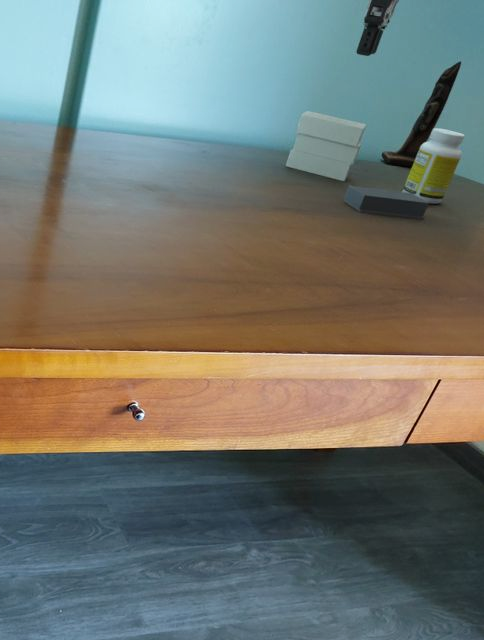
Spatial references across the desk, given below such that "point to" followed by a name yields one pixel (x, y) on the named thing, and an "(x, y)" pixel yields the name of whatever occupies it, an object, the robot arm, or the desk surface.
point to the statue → (425, 120)
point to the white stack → (322, 156)
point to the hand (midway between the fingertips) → (365, 54)
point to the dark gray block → (386, 202)
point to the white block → (331, 128)
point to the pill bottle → (434, 166)
